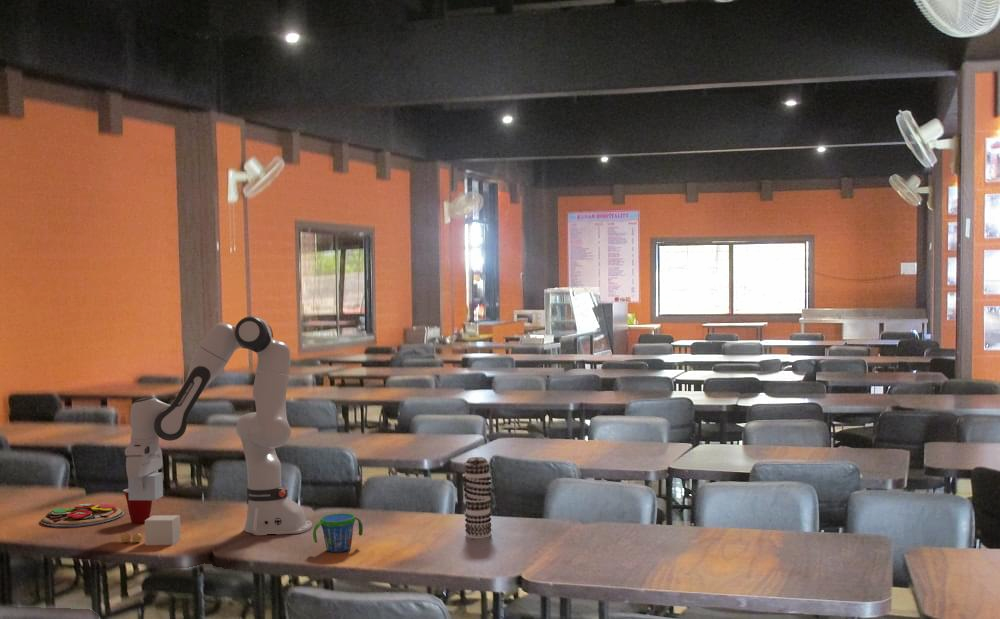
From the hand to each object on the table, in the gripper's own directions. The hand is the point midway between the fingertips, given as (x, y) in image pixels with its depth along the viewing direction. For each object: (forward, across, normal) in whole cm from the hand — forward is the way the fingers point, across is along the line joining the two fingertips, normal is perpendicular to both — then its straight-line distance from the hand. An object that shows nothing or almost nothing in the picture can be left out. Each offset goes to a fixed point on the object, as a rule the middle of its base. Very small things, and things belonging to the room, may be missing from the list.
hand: (145, 487), depth 326 cm
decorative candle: (+15, +2, +111) cm, 112 cm away
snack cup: (+16, +19, +69) cm, 73 cm away
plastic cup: (+16, -17, -10) cm, 25 cm away
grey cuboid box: (+16, +10, +10) cm, 21 cm away
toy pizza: (+16, -23, -34) cm, 44 cm away
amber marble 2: (+16, +10, +1) cm, 19 cm away
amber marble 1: (+16, +10, -3) cm, 19 cm away
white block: (+4, 0, 0) cm, 4 cm away
